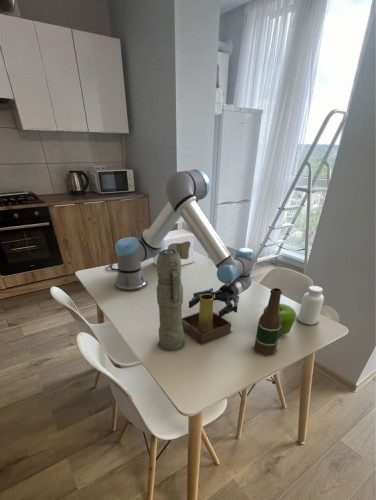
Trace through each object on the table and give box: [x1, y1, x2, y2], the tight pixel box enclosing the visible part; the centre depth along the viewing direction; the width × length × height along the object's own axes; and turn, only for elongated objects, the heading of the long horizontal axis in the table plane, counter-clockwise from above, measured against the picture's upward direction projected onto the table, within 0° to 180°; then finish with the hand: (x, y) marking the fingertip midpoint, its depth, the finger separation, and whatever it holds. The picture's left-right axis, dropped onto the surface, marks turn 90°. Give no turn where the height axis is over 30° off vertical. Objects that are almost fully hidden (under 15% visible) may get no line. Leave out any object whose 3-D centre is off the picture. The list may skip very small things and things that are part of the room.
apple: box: [262, 303, 297, 336], centre depth 113 cm, size 12×12×11 cm
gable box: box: [152, 216, 195, 266], centre depth 173 cm, size 22×13×28 cm, turn 126°
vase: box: [198, 294, 215, 332], centre depth 112 cm, size 6×6×14 cm
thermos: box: [156, 248, 184, 351], centre depth 98 cm, size 9×12×35 cm
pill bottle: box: [297, 285, 325, 326], centre depth 119 cm, size 8×8×15 cm
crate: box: [182, 311, 232, 345], centre depth 115 cm, size 15×15×4 cm
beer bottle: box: [254, 287, 283, 356], centre depth 99 cm, size 8×8×24 cm
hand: (204, 309), depth 110 cm, fingers open, 13 cm apart
